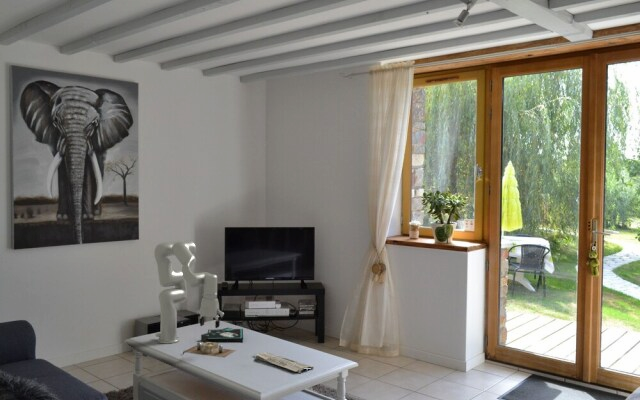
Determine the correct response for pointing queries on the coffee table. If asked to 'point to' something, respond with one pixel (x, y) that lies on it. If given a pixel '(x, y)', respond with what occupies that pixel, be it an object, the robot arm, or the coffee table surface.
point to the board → (218, 353)
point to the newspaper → (282, 362)
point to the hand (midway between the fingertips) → (209, 326)
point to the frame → (209, 347)
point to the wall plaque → (223, 335)
